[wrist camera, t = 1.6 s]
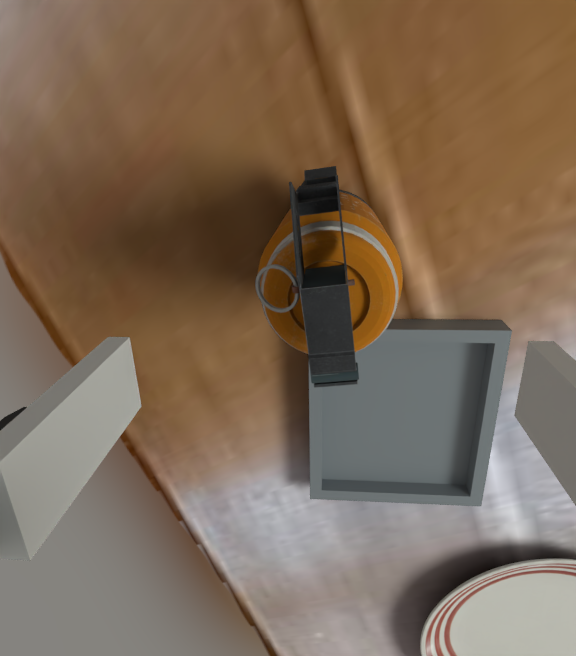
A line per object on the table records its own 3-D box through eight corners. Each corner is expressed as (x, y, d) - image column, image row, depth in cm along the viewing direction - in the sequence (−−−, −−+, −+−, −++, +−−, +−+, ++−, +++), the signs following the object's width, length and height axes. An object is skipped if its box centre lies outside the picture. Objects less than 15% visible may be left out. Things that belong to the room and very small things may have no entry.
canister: (286, 295, 42) (251, 416, 23) (267, 170, 38) (207, 197, 19) (384, 284, 41) (428, 403, 22) (376, 154, 37) (421, 167, 18)
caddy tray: (309, 318, 43) (308, 328, 40) (501, 319, 41) (511, 330, 39) (311, 482, 50) (310, 498, 48) (473, 488, 48) (481, 506, 46)
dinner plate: (696, 558, 50) (720, 586, 46) (600, 705, 60) (615, 735, 57) (445, 520, 51) (453, 544, 48) (395, 671, 61) (398, 699, 58)
